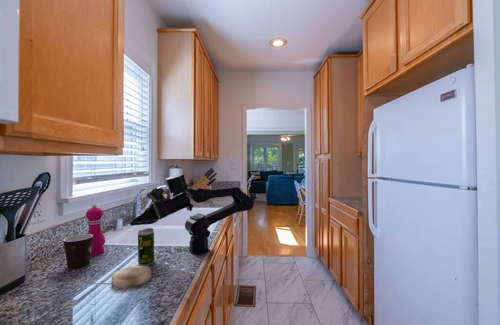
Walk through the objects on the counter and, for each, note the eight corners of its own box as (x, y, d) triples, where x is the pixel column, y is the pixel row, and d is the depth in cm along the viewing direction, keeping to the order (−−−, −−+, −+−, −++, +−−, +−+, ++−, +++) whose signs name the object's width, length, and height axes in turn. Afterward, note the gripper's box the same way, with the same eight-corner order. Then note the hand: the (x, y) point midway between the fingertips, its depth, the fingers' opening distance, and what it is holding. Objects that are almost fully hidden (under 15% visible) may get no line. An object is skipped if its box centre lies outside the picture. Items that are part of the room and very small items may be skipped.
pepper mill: (100, 248, 102) (100, 202, 102) (108, 252, 98) (107, 203, 98) (81, 254, 96) (80, 204, 96) (88, 257, 92) (88, 206, 92)
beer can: (139, 261, 88) (138, 228, 88) (155, 259, 89) (154, 227, 89) (137, 267, 82) (136, 232, 82) (153, 265, 84) (153, 231, 84)
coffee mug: (76, 260, 89) (75, 234, 89) (98, 260, 89) (98, 234, 89) (49, 275, 78) (48, 244, 78) (74, 275, 77) (74, 244, 77)
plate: (145, 268, 81) (145, 262, 81) (156, 280, 73) (155, 273, 73) (108, 278, 74) (108, 272, 74) (115, 293, 66) (115, 285, 66)
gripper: (160, 190, 99) (120, 205, 90) (171, 179, 84) (124, 196, 75) (171, 215, 98) (131, 233, 89) (184, 208, 83) (138, 229, 74)
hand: (131, 223), depth 81 cm, fingers open, 9 cm apart
